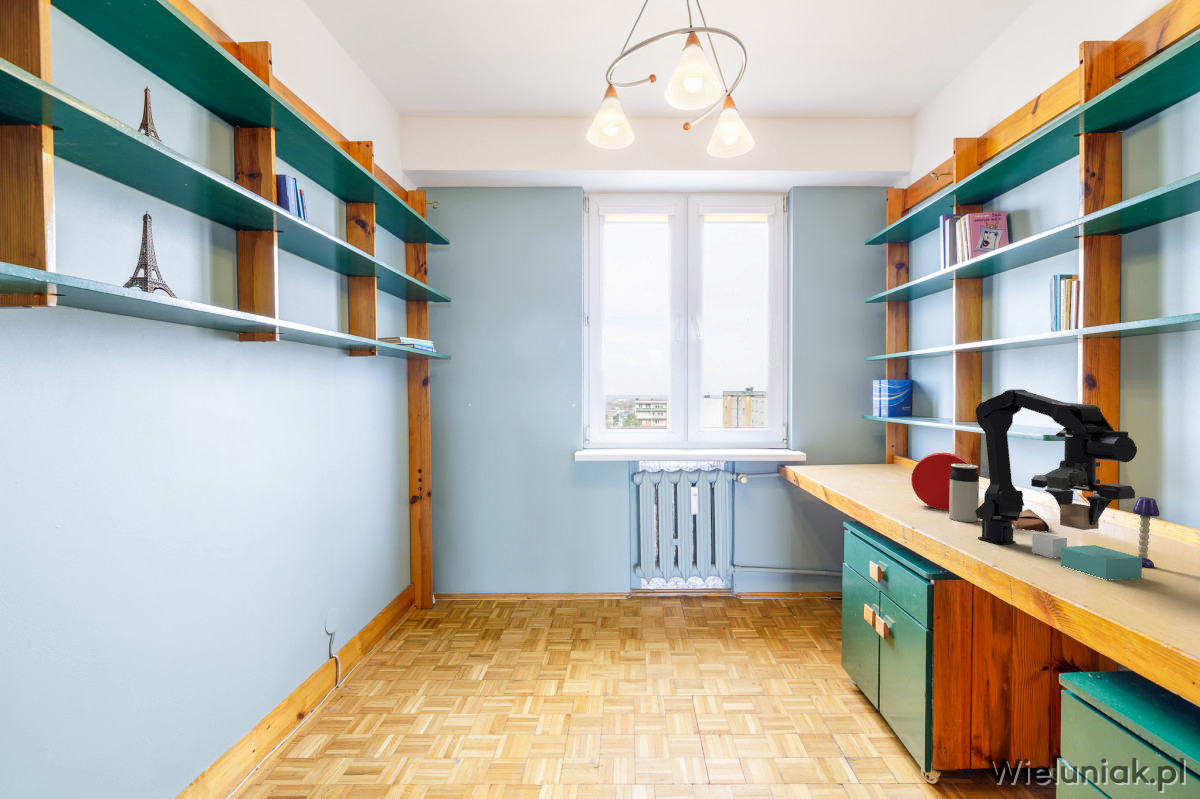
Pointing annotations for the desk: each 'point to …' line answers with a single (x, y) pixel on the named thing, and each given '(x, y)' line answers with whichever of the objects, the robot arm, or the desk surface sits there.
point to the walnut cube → (1076, 516)
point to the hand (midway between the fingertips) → (1079, 522)
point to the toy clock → (935, 478)
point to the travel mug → (964, 493)
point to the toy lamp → (1145, 526)
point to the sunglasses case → (1030, 522)
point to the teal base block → (1102, 562)
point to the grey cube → (1048, 544)
